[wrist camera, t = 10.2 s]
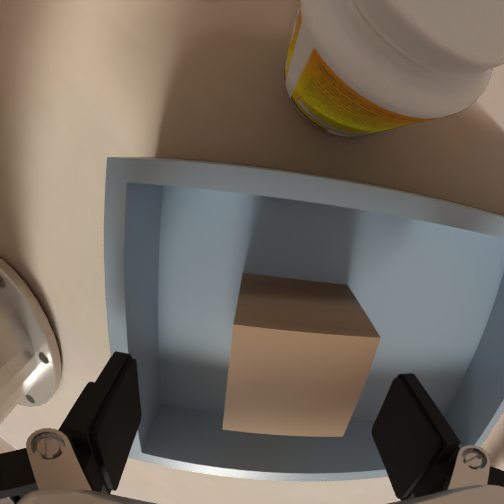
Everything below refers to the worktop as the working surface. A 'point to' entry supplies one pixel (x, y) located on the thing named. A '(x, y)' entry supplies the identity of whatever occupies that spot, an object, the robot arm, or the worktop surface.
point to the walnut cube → (296, 357)
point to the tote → (304, 268)
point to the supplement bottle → (390, 60)
